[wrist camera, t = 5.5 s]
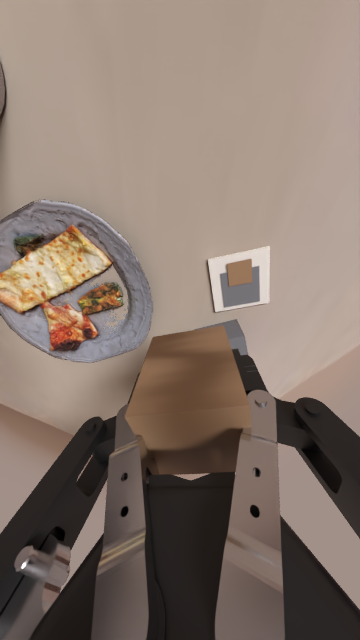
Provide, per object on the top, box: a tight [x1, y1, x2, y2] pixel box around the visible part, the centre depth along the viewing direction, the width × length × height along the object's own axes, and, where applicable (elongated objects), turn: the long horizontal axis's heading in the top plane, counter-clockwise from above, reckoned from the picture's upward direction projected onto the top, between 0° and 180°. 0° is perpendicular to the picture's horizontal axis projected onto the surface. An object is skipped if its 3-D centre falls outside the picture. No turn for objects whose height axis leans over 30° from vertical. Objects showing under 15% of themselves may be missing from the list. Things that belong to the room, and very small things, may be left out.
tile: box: [208, 246, 270, 312], centre depth 25 cm, size 8×8×1 cm
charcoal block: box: [195, 319, 248, 355], centre depth 29 cm, size 7×7×5 cm
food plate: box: [0, 199, 153, 363], centre depth 27 cm, size 25×23×4 cm
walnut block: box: [125, 325, 251, 475], centre depth 11 cm, size 5×5×6 cm
